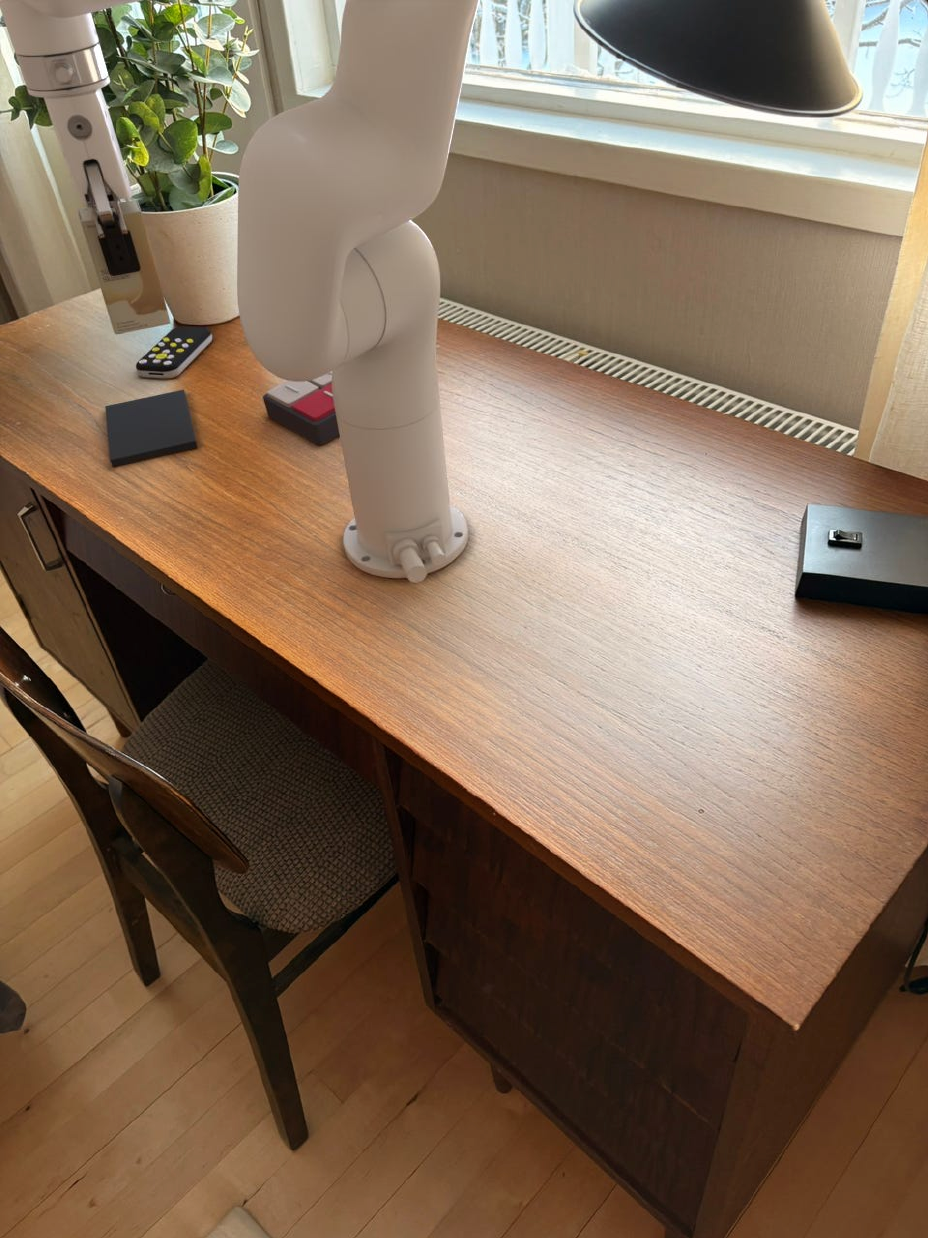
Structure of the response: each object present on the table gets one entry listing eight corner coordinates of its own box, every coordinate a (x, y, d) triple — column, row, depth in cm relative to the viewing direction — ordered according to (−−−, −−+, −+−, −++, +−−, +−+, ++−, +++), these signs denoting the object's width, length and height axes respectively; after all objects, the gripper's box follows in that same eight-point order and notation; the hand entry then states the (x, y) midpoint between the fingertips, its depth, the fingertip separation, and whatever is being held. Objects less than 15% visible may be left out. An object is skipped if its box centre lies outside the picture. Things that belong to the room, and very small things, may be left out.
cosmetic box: (115, 336, 102) (77, 221, 94) (111, 321, 105) (73, 208, 97) (174, 323, 104) (141, 209, 96) (168, 308, 107) (136, 196, 99)
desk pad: (198, 447, 112) (195, 440, 112) (112, 467, 110) (110, 459, 110) (185, 395, 122) (183, 389, 122) (107, 412, 121) (105, 405, 120)
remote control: (216, 338, 135) (213, 325, 134) (175, 380, 126) (171, 366, 125) (178, 336, 136) (174, 323, 135) (134, 378, 127) (130, 364, 126)
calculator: (259, 390, 114) (354, 340, 121) (268, 421, 117) (360, 370, 124) (313, 419, 108) (410, 365, 115) (321, 451, 111) (415, 396, 118)
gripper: (109, 82, 83) (167, 286, 95) (102, 47, 95) (153, 232, 107) (20, 95, 81) (90, 300, 93) (24, 58, 93) (86, 244, 106)
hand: (123, 262), depth 100 cm, fingers closed on cosmetic box, 4 cm apart
